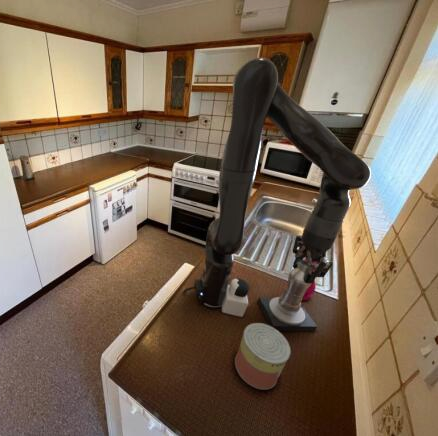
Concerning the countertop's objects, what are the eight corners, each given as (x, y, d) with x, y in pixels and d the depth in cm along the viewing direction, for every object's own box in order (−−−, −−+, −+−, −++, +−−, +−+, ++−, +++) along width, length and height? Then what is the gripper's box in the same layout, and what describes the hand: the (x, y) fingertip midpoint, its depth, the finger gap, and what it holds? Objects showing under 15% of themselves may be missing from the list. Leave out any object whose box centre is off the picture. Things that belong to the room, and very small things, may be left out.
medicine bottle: (240, 302, 89) (250, 278, 83) (242, 317, 83) (253, 293, 77) (221, 297, 90) (229, 273, 84) (221, 312, 84) (230, 288, 78)
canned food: (274, 399, 61) (288, 373, 55) (230, 374, 66) (238, 347, 60) (279, 361, 69) (292, 335, 63) (240, 342, 74) (248, 316, 69)
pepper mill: (313, 303, 88) (335, 260, 79) (292, 300, 90) (311, 258, 80) (306, 289, 95) (325, 248, 85) (287, 286, 96) (303, 245, 86)
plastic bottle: (295, 304, 84) (315, 259, 74) (299, 319, 78) (321, 273, 69) (275, 299, 86) (292, 255, 76) (277, 314, 80) (296, 268, 70)
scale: (271, 330, 78) (274, 324, 77) (257, 301, 89) (259, 295, 87) (314, 331, 78) (318, 325, 77) (295, 302, 89) (297, 296, 87)
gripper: (294, 216, 72) (278, 260, 81) (324, 244, 60) (302, 292, 68) (318, 217, 72) (300, 260, 81) (354, 244, 60) (328, 292, 68)
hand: (301, 274), depth 74 cm, fingers closed on plastic bottle, 6 cm apart
